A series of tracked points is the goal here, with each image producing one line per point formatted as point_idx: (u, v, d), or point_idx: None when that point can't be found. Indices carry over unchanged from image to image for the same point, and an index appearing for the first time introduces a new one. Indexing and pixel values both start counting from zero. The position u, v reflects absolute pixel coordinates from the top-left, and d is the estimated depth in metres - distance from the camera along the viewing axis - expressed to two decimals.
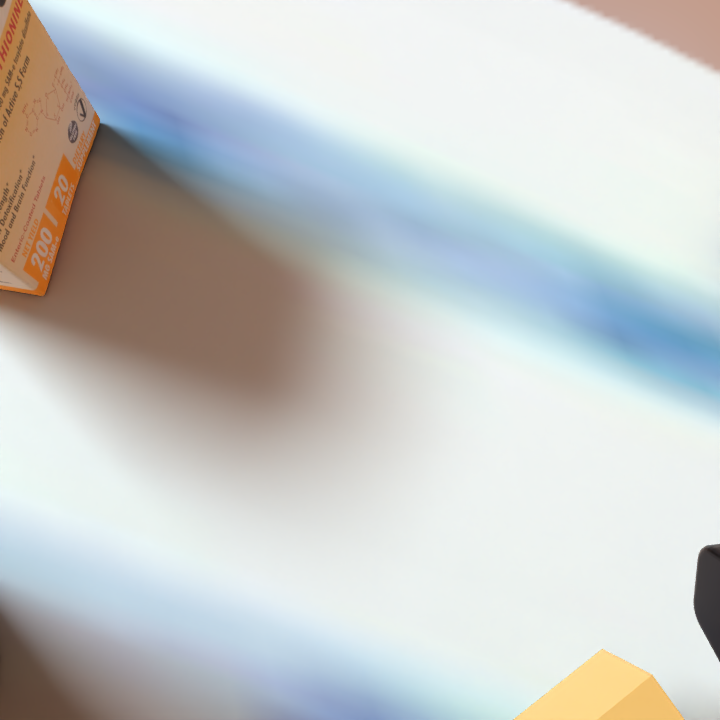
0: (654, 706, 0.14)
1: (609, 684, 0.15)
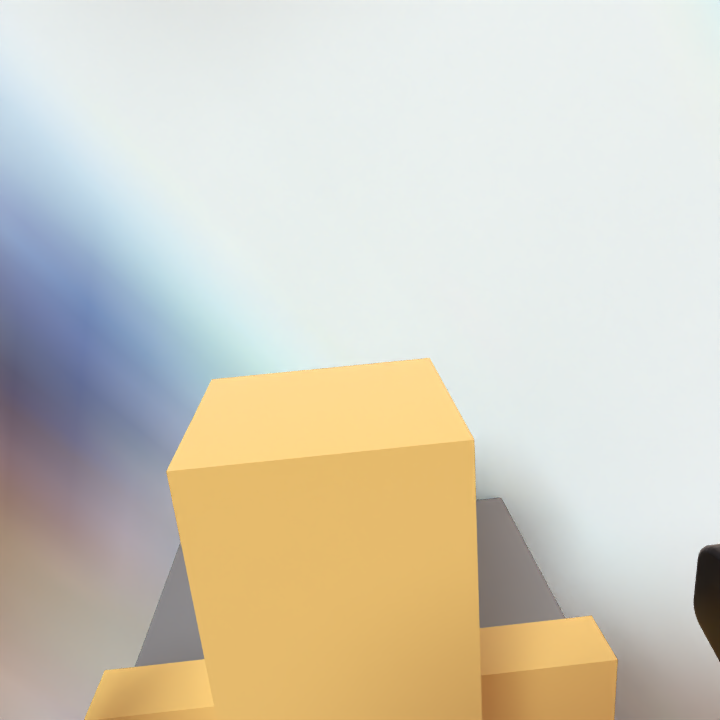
0: (440, 486, 0.07)
1: (393, 412, 0.07)
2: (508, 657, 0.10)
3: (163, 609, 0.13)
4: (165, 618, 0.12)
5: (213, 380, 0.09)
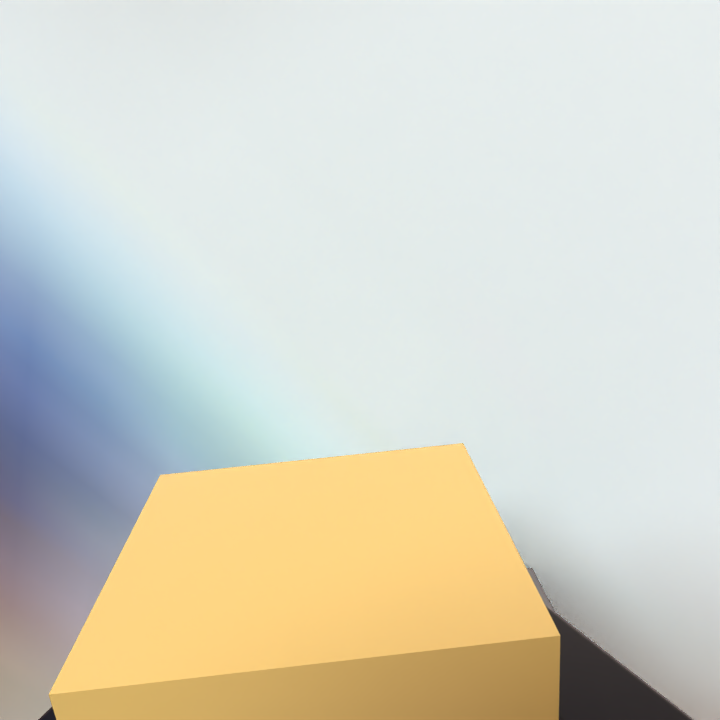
0: (502, 706, 0.04)
1: (420, 558, 0.05)
2: None
3: None
4: None
5: (161, 477, 0.06)
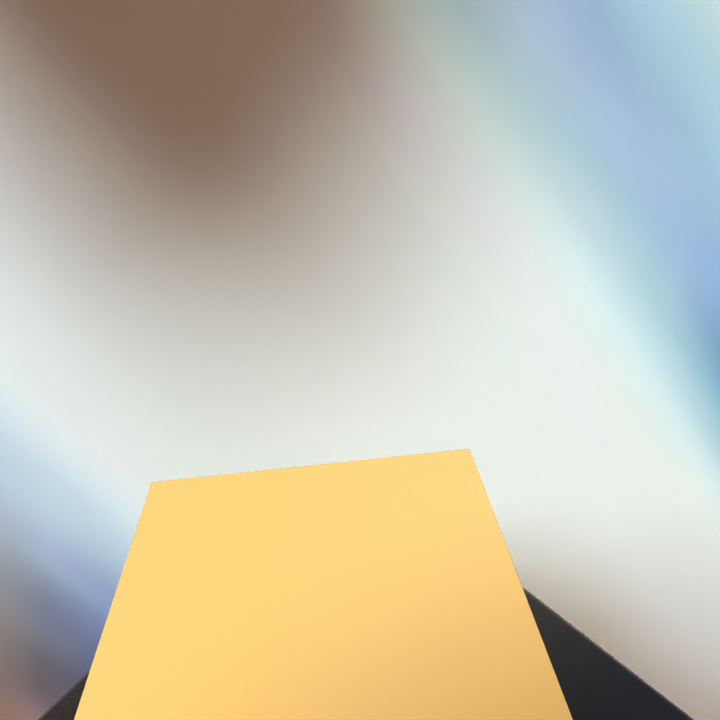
0: None
1: (429, 611, 0.05)
2: None
3: None
4: None
5: (153, 485, 0.06)
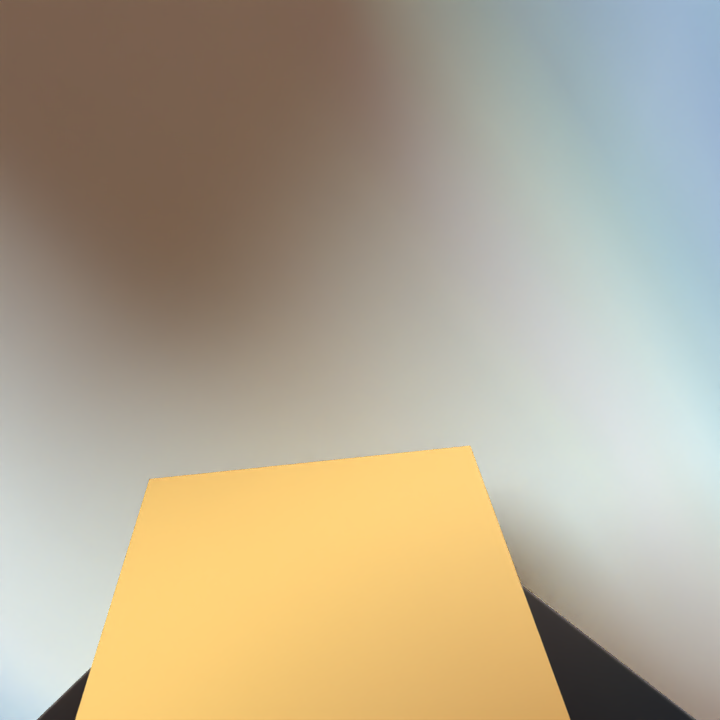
0: None
1: (429, 615, 0.05)
2: None
3: None
4: None
5: (151, 482, 0.06)
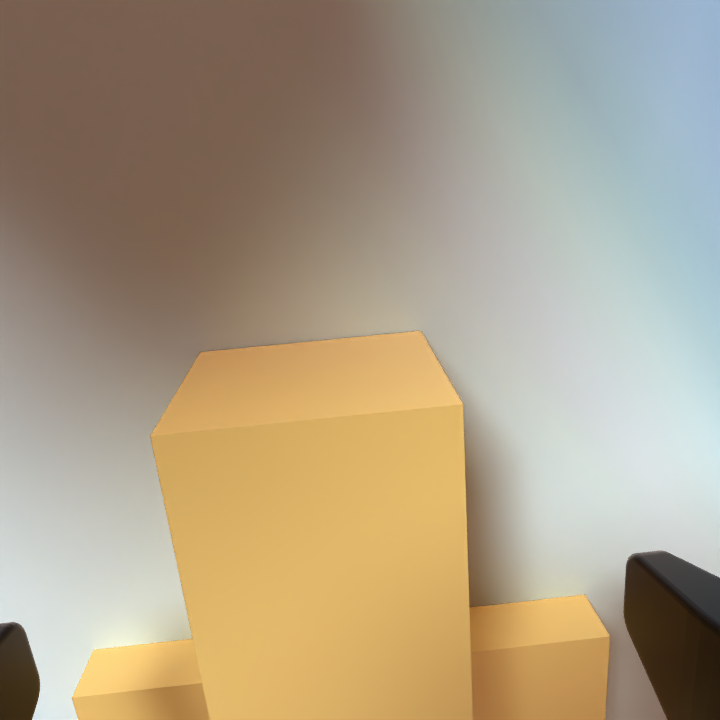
0: (429, 453, 0.07)
1: (382, 380, 0.07)
2: (500, 634, 0.10)
3: None
4: None
5: (202, 353, 0.09)
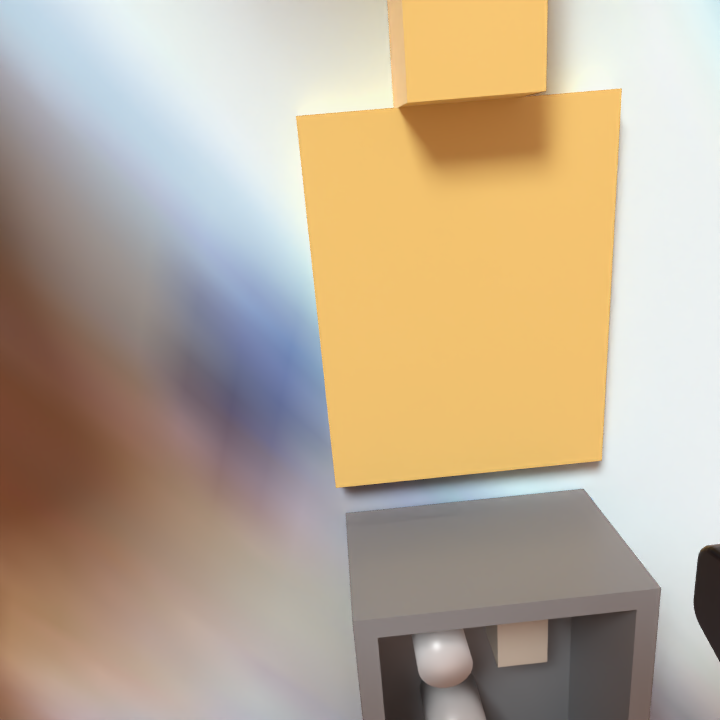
0: None
1: None
2: None
3: (354, 567, 0.18)
4: (358, 572, 0.18)
5: None
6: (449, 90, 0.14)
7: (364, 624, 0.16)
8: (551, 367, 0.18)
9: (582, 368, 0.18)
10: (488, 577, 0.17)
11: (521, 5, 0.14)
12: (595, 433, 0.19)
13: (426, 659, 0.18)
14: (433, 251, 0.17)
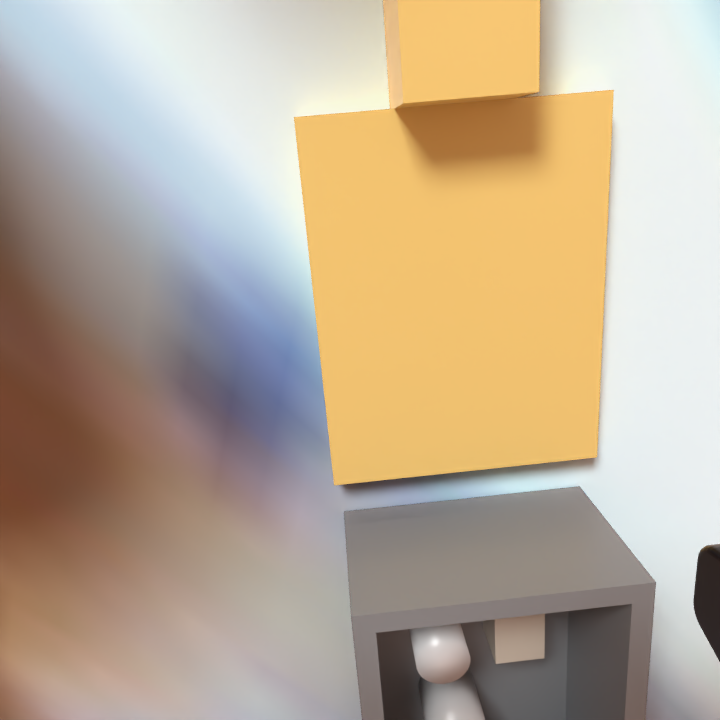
0: None
1: None
2: (547, 96, 0.16)
3: (353, 564, 0.18)
4: (357, 569, 0.18)
5: None
6: (445, 91, 0.14)
7: (363, 620, 0.16)
8: (546, 364, 0.19)
9: (577, 365, 0.19)
10: (485, 573, 0.17)
11: (514, 8, 0.14)
12: (591, 430, 0.19)
13: (424, 655, 0.18)
14: (429, 249, 0.17)
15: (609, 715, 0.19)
